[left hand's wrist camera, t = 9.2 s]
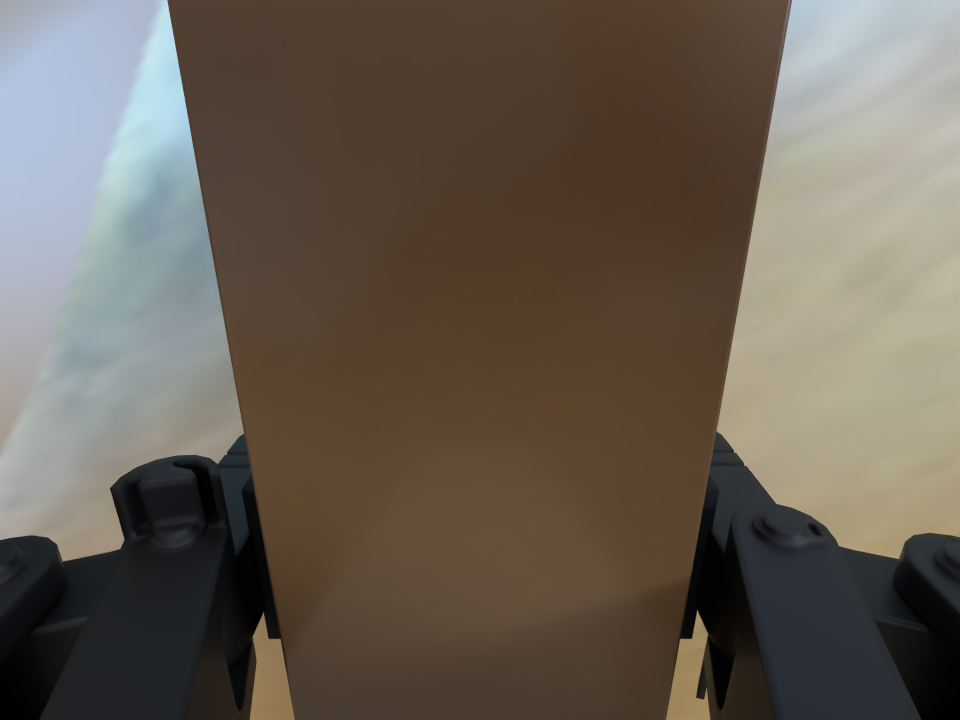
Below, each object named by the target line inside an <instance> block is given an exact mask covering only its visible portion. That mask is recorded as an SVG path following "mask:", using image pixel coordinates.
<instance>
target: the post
mask: <svg viewBox="0 0 960 720" xmlns="http://www.w3.org/2000/svg"><path fill="white" fill-rule="evenodd" d="M791 2H792V0H168V6H169V12H170V17H171V23H172V29H173V34H174V40H175V46H176V51H177V57H178V62H179V68H180V74H181V79H182V85H183V91H184V96H185V102H186V108H187V113H188V119H189V125H190V130H191V136H192V141H193V147H194V153H195V158H196V164H197V170H198V175H199V181H200V187H201V192H202V198H203V204H204V209H205V215H206V220H207V226H208V232H209V237H210V243H211V249H212V254H213V260H214V266H215V271H216V277H217V282H218V288H219V294H220V299H221V305H222V311H223V316H224V322H225V328H226V333H227V339H228V345H229V350H230V356H231V361H232V367H233V373H234V378H235V384H236V390H237V395H238V401H239V407H240V412H241V418H242V424H243V429H244V435H245V440H246V446H247V452H248V457H249V463H250V469H251V474H252V480H253V486H254V491H255V497H256V503H257V508H258V514H259V519H260V525H261V531H262V536H263V542H264V548H265V553H266V559H267V565H268V570H269V576H270V582H271V587H272V593H273V598H274V604H275V610H276V615H277V621H278V627H279V632H280V638H281V644H282V649H283V655H284V661H285V666H286V672H287V677H288V683H289V689H290V694H291V700H292V706H293V711H294V717H295V720H666V716H667V710H668V705H669V699H670V693H671V687H672V682H673V676H674V670H675V665H676V659H677V653H678V647H679V642H680V636H681V630H682V625H683V619H684V613H685V607H686V602H687V596H688V590H689V585H690V579H691V573H692V568H693V562H694V556H695V550H696V545H697V539H698V533H699V528H700V522H701V516H702V510H703V505H704V499H705V493H706V488H707V482H708V476H709V470H710V465H711V459H712V453H713V448H714V442H715V436H716V430H717V425H718V419H719V413H720V408H721V402H722V396H723V391H724V385H725V379H726V373H727V368H728V362H729V356H730V351H731V345H732V339H733V333H734V328H735V322H736V316H737V311H738V305H739V299H740V293H741V288H742V282H743V276H744V271H745V265H746V259H747V254H748V248H749V242H750V236H751V231H752V225H753V219H754V214H755V208H756V202H757V196H758V191H759V185H760V179H761V174H762V168H763V162H764V156H765V151H766V145H767V139H768V134H769V128H770V122H771V116H772V111H773V105H774V99H775V94H776V88H777V82H778V77H779V71H780V65H781V59H782V54H783V48H784V42H785V37H786V31H787V25H788V19H789V14H790V8H791Z"/></svg>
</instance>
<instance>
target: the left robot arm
mask: <svg viewBox="0 0 960 720" xmlns="http://www.w3.org/2000/svg"><path fill="white" fill-rule="evenodd" d="M110 490H111V493H112V497H113V500H114V504H115V507H116V511H117V514H118V518H119V521H120V525H121V528H122V532H123V535H124V539H125V540H124V543H123V545H122V547H121V549H119V550H116V551H112V552H108V553H103V554H98V555H93V556H88V557H83V558H79V559H74V560H69V561H64V562H63V561H62V558H61V555H60V552H59V549H58V546H57V544H55V543H54V542H53V541H52V540H50V539H49V538H46V537H39V536H24V537H15V538H8V539H4V540H0V720H250V712H251V704H252V695H253V687H254V679H255V670H256V662H257V661H256V654H255V647H254V642H253V635H254V632H255V630H256V628H257V626H258V623H259V621H260V619H261V617H262V615H263V612H264V616H265V621H266V626H267V632H268V637H269V639H281V638H280V632H279V627H278V621H277V615H276V610H275V604H274V598H273V593H272V587H271V582H270V576H269V570H268V565H267V559H266V553H265V548H264V542H263V536H262V531H261V525H260V519H259V514H258V508H257V503H256V497H255V491H254V486H253V480H252V474H251V469H250V463H249V457H248V452H247V446H246V440H245V435H244V434H243V435H241V436H240V437H239V438H238V439H237V440H236V442H235V443H234V444H233V446H232V447H231V448H230V449H229V451H228V452H227V455H225V456H224V457H223V458H222V460H221V461H220V462H219V463H218V464H217V463H215V462H214V461H213V460H211V459H210V458H206V457H202V456H197V455H181V456H173V457H168V458H163V459H158V460H155V461H152V462H150V463H147V464H144V465H142V466H139V467H136V468H135V469H133V470H132V471H130V472H128V473H127V474H125V475H123V476H122V477H120V478H119V479H118V480H117V481H116V483H115V484H114V485H113V486H112V487H111V488H110ZM697 610H698V612H699V615H700V617H701V619H702V621H703V623H704V626H705V628H706V630H707V632H708V637H707V642H706V647H705V652H704V657H703V662H702V667H701V673H700V678H699V683H698V689H697V696H696V698H699V699H704V697H705V692H706V688H707V694H708V702H709V711H710V719H711V720H960V537H956V536H950V535H942V534H934V533H926V534H919V535H913V536H912V537H911V538H910V539H908V540H907V541H906V542H905V543H904V546H903V549H902V552H901V555H900V558H899V559H895V558H890V557H885V556H880V555H875V554H870V553H865V552H860V551H855V550H851V549H847V548H843V547H840V546H838V544H837V541H836V539H835V538H834V537H833V535H832V534H831V533H830V532H829V530H828V529H827V528H826V527H825V526H824V525H822V524H821V523H820V522H818V521H817V520H815V519H814V518H813V517H811V516H809V515H807V514H805V513H802V512H800V511H798V510H796V509H793V508H791V507H786V506H782V505H778V504H776V503H775V502H774V500H773V499H772V498H771V497H770V495H769V494H768V493H767V492H766V490H765V489H764V488H763V487H762V485H761V484H760V483H759V481H758V480H757V479H756V478H755V476H754V475H753V474H752V473H751V471H750V470H749V469H748V468H747V466H744V462H743V461H742V460H741V459H740V457H739V456H738V455H737V454H736V453H734V450H733V449H732V447H731V446H730V445H729V443H728V442H727V441H726V440H725V438H724V437H723V436H722V435H721V434H719V433H718V432H716V436H715V442H714V448H713V453H712V459H711V465H710V470H709V476H708V482H707V488H706V493H705V499H704V505H703V510H702V516H701V522H700V528H699V533H698V539H697V545H696V550H695V556H694V562H693V568H692V573H691V579H690V585H689V590H688V596H687V602H686V607H685V613H684V619H683V625H682V630H681V636H680V639H692V635H693V630H694V625H695V619H696V614H697Z"/></svg>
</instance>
